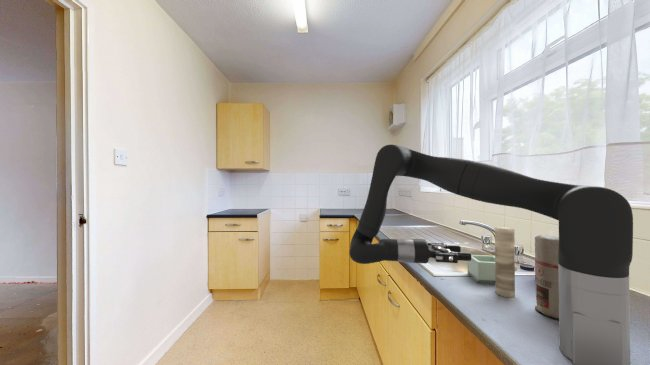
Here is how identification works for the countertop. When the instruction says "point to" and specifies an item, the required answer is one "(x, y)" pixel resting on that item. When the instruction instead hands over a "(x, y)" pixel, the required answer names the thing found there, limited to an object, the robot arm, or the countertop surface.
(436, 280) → the countertop surface
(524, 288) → the countertop surface
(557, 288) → the white labelled canister
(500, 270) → the birch dowel
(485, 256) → the pale green open box
